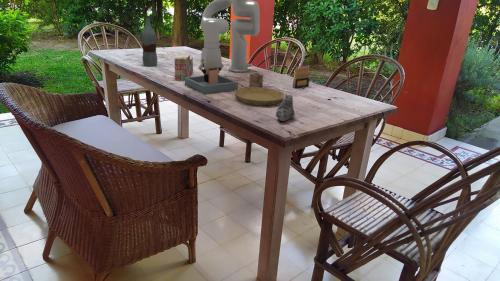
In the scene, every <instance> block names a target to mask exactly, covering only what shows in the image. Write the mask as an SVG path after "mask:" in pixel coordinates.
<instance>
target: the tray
mask: <svg viewBox="0 0 500 281" xmlns="http://www.w3.org/2000/svg"><path fill="white" fill-rule="evenodd" d="M184 86H186V87H188V88H190V89H192V90H194V91H196V92H198V93H200V94H203V95H210V94H211V95H212V94H217V93H224V92H230V91H231V92H233V91H235V90H237V89H239V82H238V81H236V80H234V79H231V78H229V77H226V76H223V75H220V74H218V83H216V84H208V83H205V81H204V75H198V76H197V75H196V76H189V77H186V78H185V81H184Z"/></svg>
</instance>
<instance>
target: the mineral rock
mask: <svg viewBox="0 0 500 281" xmlns="http://www.w3.org/2000/svg"><path fill="white" fill-rule="evenodd" d="M295 116H296V114H295V110H294V100H293V96H292V95H291V94H285V96H284V98H283V100H281V101H280V105H279V106H278V107H277V109H276V113H275V117H276V118H278V119H279V121H281V122H284V121H289V120H290V119H293V118H294V117H295Z"/></svg>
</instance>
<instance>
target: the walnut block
mask: <svg viewBox="0 0 500 281" xmlns="http://www.w3.org/2000/svg"><path fill="white" fill-rule="evenodd" d="M263 82H264V74H261V73H258V72H256V73H255V72H253V73H249V84H248V85H249V86H248V87H259V88H263Z"/></svg>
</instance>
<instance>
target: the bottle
mask: <svg viewBox="0 0 500 281" xmlns="http://www.w3.org/2000/svg"><path fill="white" fill-rule="evenodd" d="M140 36H141V45H142V63H143V66H144V67H149V68H151V67H153V68H154V67H157V65H158V55H157V34H156V31H155V30H154V29H153V27H152V25H151V16H150V15H145V27H144V28H143V29H142V31H141V35H140Z"/></svg>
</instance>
